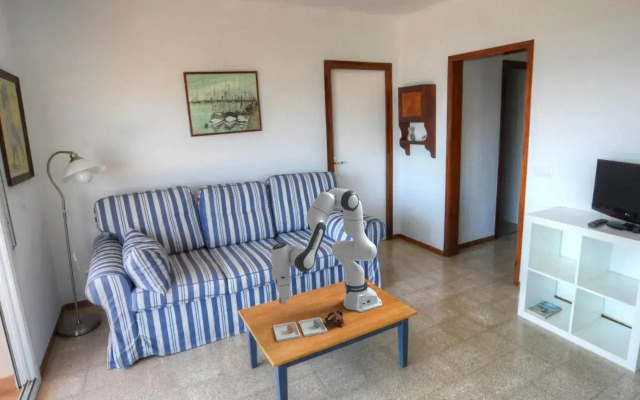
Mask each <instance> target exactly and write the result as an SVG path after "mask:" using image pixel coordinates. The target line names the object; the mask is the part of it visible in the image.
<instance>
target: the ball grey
mask: <svg viewBox="0 0 640 400" xmlns="http://www.w3.org/2000/svg"><path fill="white" fill-rule="evenodd" d="M313 324H314V326H315V327H320V325H321V321H320V320H318V319H316V320H315V321H314V323H313Z"/></svg>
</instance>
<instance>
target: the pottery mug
mask: <svg viewBox="0 0 640 400" xmlns="http://www.w3.org/2000/svg"><path fill="white" fill-rule="evenodd" d="M331 316H332V317H331ZM343 316H344V314H343V311H342V310H341V309H338V310H337V311H331V312H329V313H327V314H326V316H325V318H324V321H325V324H326V326H329V325H330V326H332V325H333V324H332V323H336V324H337V323H338V321H340V322H341V323H340V327H341V328H343V327H344V326H345V322H344V318H343ZM330 317H331V318H330Z"/></svg>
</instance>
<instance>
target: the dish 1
mask: <svg viewBox="0 0 640 400" xmlns="http://www.w3.org/2000/svg"><path fill="white" fill-rule="evenodd" d="M296 322H297V321H290V322H285V323H280V324H274V325H272V327H273V329H272V330H273V332H274V337H275V339H276V342H277V343H280V342H283V341H284V342H286V341H290V340H295V339H300V338H301V337H302V336H301V333H300V330H299V328H298V325H297V323H296ZM289 324H293V325H294V326H295V330H294V331H293V332H289V331H288V330H287V327H288V325H289Z"/></svg>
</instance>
